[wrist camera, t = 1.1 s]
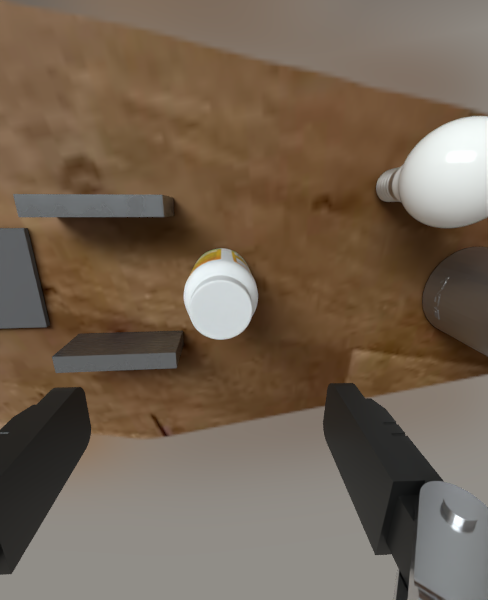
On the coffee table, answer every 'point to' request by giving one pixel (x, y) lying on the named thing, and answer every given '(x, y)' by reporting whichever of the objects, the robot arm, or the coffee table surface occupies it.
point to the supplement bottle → (221, 294)
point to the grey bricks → (108, 346)
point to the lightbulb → (444, 176)
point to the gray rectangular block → (19, 282)
